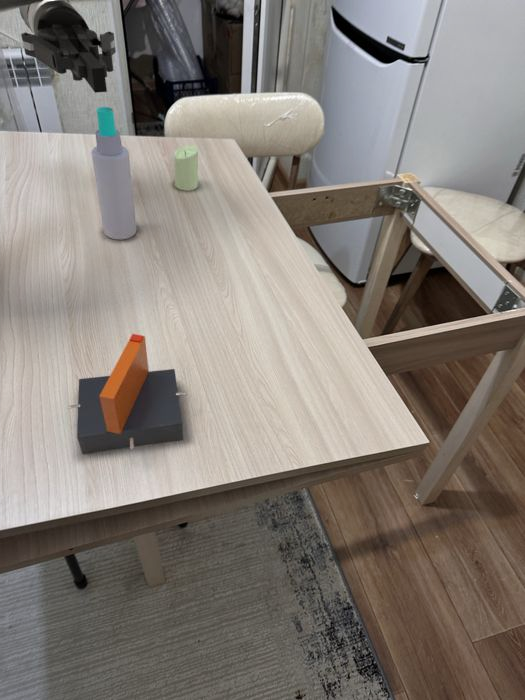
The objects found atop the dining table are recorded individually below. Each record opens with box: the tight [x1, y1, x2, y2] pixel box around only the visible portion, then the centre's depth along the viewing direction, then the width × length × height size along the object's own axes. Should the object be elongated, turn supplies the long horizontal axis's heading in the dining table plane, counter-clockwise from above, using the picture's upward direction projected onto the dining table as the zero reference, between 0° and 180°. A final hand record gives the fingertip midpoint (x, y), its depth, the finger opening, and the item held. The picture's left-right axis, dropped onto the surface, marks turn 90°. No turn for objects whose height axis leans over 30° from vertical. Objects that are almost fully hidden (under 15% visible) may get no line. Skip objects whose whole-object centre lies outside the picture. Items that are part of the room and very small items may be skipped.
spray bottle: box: [91, 106, 138, 240], centre depth 84 cm, size 6×6×22 cm
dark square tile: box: [67, 368, 188, 455], centre depth 61 cm, size 14×14×4 cm
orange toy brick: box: [99, 333, 150, 434], centre depth 57 cm, size 10×2×7 cm, turn 171°
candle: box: [173, 145, 199, 192], centre depth 104 cm, size 5×5×8 cm
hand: (99, 80), depth 60 cm, fingers closed
